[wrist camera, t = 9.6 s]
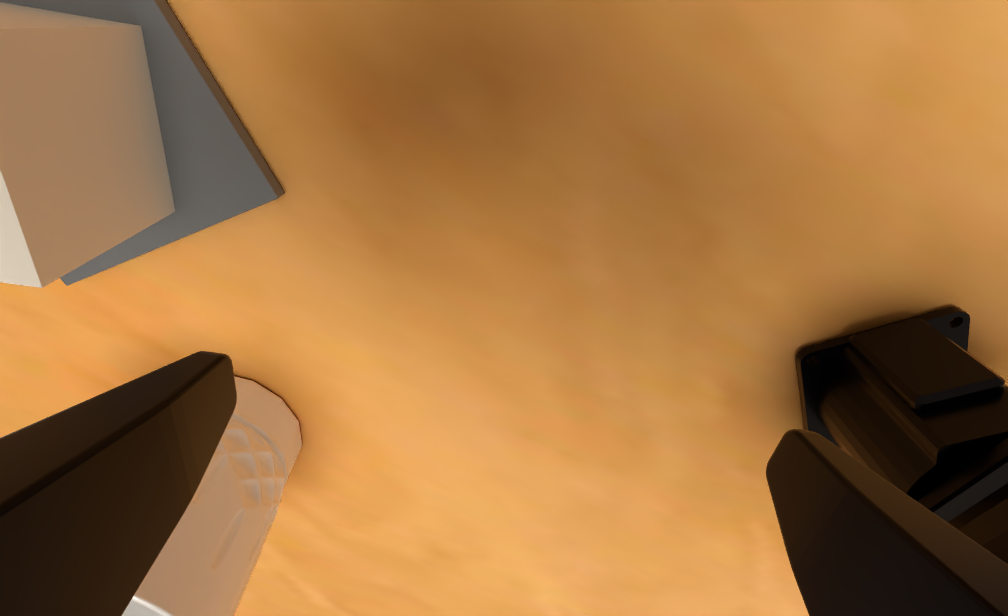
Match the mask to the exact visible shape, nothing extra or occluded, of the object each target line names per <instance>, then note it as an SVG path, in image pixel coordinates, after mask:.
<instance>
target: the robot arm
mask: <svg viewBox="0 0 1008 616" xmlns="http://www.w3.org/2000/svg"><path fill="white" fill-rule="evenodd" d="M952 319H953V320H952ZM951 320H952V321H951ZM969 324H970V316H969V314H968V313H966V312H965V311H963V310H962V309H960V308H959V307H949V308H945V309H941V310H938V311H934V312H931V313H927V314H923V315H920V316H916V317H913V318H909V319H905V320H902V321H898V322H895V323H891V324H887V325H884V326H880V327H877V328H873V329H870V330H866V331H862V332H859V333H855V334H852V335H848V336H844V337H841V338H837V339H834V340H830V341H826V342H823V343H819V344H816V345H812V346H808V347H806V348H803V349H802V350H800V351H799V352H798V354H797V355H796V365H797V373H798V381H799V389H800V397H801V405H802V413H803V421H804V429H805V430H798V429H791V430H789V431H787V432H786V433H785V434H784V436H783V437H782V439H781V441H780V442H779V444H778V446H777V448H776V449H775V451H774V453H773V454H772V456H771V458H770V459H769V461H768V463H767V467H766V477H767V481H768V485H769V489H770V492H771V496H772V500H773V503H774V507H775V511H776V514H777V518H778V522H779V525H780V529H781V533H782V536H783V540H784V544H785V547H786V551H787V554H788V558H789V561H790V564H791V568H792V570H793V573H794V576H795V579H796V582H797V585H798V587H799V590H800V592H801V595H802V598H803V600H804V603H805V606H806V608H807V611H808V613H809V616H1008V386H1006V385H1005V380H1004V379H1003V378H1002V377H1001V376H999V375H998V374H997V373H995V372H994V371H993V370H991V369H990V368H988V367H987V366H986V365H984V364H983V363H982V362H980V361H979V360H978V359H976V358H975V357H973V356H972V355H971V354H969V353H968V352H967V348H968V336H969ZM811 357H813V358H812V359H810V360H808V359H809V358H811ZM807 360H808V361H807ZM236 402H237V392H236V385H235V378H234V372H233V365H232V361H231V359H230V357H229V356H228V355H226V354H222V353H214V352H207V351H200V352H197V353H194V354H192V355H190V356H187V357H185V358H183V359H180V360H178V361H176V362H174V363H171V364H169V365H167V366H164V367H162V368H160V369H158V370H155V371H153V372H151V373H148V374H146V375H144V376H141V377H139V378H137V379H135V380H132V381H130V382H128V383H125V384H123V385H121V386H119V387H116V388H114V389H112V390H109V391H107V392H105V393H103V394H100V395H98V396H96V397H93V398H91V399H89V400H86V401H84V402H82V403H80V404H77V405H75V406H73V407H70V408H68V409H66V410H63V411H61V412H59V413H57V414H54V415H52V416H50V417H47V418H45V419H43V420H41V421H38V422H36V423H34V424H31V425H29V426H27V427H24V428H22V429H20V430H18V431H15V432H13V433H11V434H8V435H6V436H4V437H2V438H0V616H122V614H123V613H124V611H125V609H126V608H127V606H128V605H129V603H130V601H131V600H132V598H133V596H134V595H135V593H136V591H137V590H138V588H139V586H140V585H141V583H142V582H143V580H144V578H145V577H146V575H147V573H148V572H149V570H150V568H151V567H152V565H153V563H154V562H155V560H156V559H157V557H158V555H159V554H160V552H161V550H162V549H163V547H164V545H165V544H166V542H167V540H168V539H169V537H170V536H171V534H172V532H173V531H174V529H175V527H176V526H177V524H178V522H179V521H180V519H181V517H182V516H183V514H184V512H185V511H186V509H187V507H188V505H189V504H190V502H191V500H192V499H193V497H194V495H195V493H196V491H197V489H198V487H199V485H200V483H201V480H202V478H203V476H204V474H205V472H206V470H207V468H208V466H209V463H210V461H211V459H212V457H213V455H214V453H215V451H216V448H217V446H218V444H219V442H220V440H221V438H222V436H223V434H224V431H225V429H226V427H227V425H228V423H229V421H230V419H231V416H232V414H233V412H234V410H235V407H236Z"/></svg>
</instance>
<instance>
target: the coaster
mask: <svg viewBox="0 0 1008 616" xmlns="http://www.w3.org/2000/svg"><path fill="white" fill-rule="evenodd" d="M0 2H2V3H8V4H14V5H20V6H26V7H32V8H38V9H44V10H50V11H55V12H61V13H67V14H73V15H79V16H85V17H91V18H97V19H103V20H109V21H115V22H121V23H127V24H133V25H139V26H141V28H142V34H143V39H144V45H145V50H146V55H147V61H148V66H149V72H150V77H151V83H152V88H153V93H154V99H155V104H156V110H157V115H158V120H159V126H160V131H161V137H162V142H163V147H164V153H165V158H166V164H167V169H168V174H169V180H170V185H171V191H172V196H173V201H174V207H175V212H174V213H172V214H170V215H168V216H167V217H165V218H163V219H161V220H160V221H158V222H156V223H154V224H153V225H151V226H149V227H147V228H146V229H144V230H142V231H141V232H139V233H137V234H135V235H134V236H132V237H130V238H128V239H127V240H125V241H123V242H121V243H120V244H118V245H116V246H114V247H113V248H111V249H109V250H107V251H106V252H104V253H102V254H100V255H99V256H97V257H95V258H93V259H92V260H90V261H88V262H86V263H85V264H83V265H81V266H79V267H78V268H76V269H74V270H72V271H71V272H69V273H67V274H65V275H64V276H62V277H60V279H61V280H62V281H63V282H64V283H65V284H66V285H67V286H68V285H70V284H72V283H75V282H77V281H80V280H82V279H84V278H87V277H89V276H92V275H94V274H96V273H99V272H101V271H104V270H106V269H109V268H111V267H113V266H116V265H118V264H121V263H123V262H125V261H128V260H130V259H133V258H135V257H137V256H140V255H142V254H145V253H147V252H150V251H152V250H154V249H157V248H159V247H162V246H164V245H166V244H169V243H171V242H174V241H176V240H178V239H181V238H183V237H186V236H188V235H190V234H193V233H195V232H198V231H200V230H203V229H205V228H207V227H210V226H212V225H215V224H217V223H219V222H222V221H224V220H227V219H229V218H231V217H234V216H236V215H239V214H241V213H243V212H246V211H248V210H251V209H253V208H256V207H258V206H260V205H263V204H265V203H268V202H270V201H272V200H275V199H277V198H279V197H280V196H282V195H283V194H284V191H283V189H282V188H281V186H280V184H279V183H278V181H277V180H276V178H275V176H274V175H273V173H272V172H271V170H270V168H269V167H268V165H267V163H266V162H265V160H264V159H263V157H262V155H261V154H260V152H259V150H258V149H257V147H256V146H255V144H254V142H253V141H252V139H251V138H250V136H249V134H248V133H247V131H246V129H245V128H244V126H243V125H242V123H241V121H240V120H239V118H238V117H237V115H236V113H235V112H234V110H233V108H232V107H231V105H230V104H229V102H228V100H227V99H226V97H225V96H224V94H223V92H222V91H221V89H220V87H219V86H218V84H217V83H216V81H215V79H214V78H213V76H212V75H211V73H210V71H209V70H208V68H207V66H206V65H205V63H204V62H203V60H202V58H201V57H200V55H199V53H198V52H197V50H196V49H195V47H194V45H193V44H192V42H191V41H190V39H189V37H188V36H187V34H186V32H185V31H184V29H183V28H182V26H181V24H180V23H179V21H178V20H177V18H176V16H175V15H174V13H173V11H172V10H171V8H170V7H169V5H168V3H167V2H166V0H0Z"/></svg>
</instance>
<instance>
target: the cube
mask: <svg viewBox="0 0 1008 616" xmlns="http://www.w3.org/2000/svg"><path fill="white" fill-rule="evenodd" d="M174 212H175V207H174V201H173V196H172V191H171V185H170V180H169V174H168V169H167V164H166V158H165V153H164V147H163V142H162V137H161V131H160V126H159V120H158V115H157V110H156V104H155V99H154V93H153V88H152V83H151V77H150V72H149V66H148V61H147V55H146V50H145V45H144V39H143V34H142V28H141V26H139V25H133V24H127V23H121V22H115V21H109V20H103V19H97V18H91V17H85V16H79V15H73V14H67V13H61V12H55V11H50V10H44V9H38V8H32V7H26V6H20V5H14V4H8V3H2V2H0V282H3V283H10V284H17V285H25V286H32V287H40V288H43V287H44V286H46V285H48V284H50V283H51V282H53V281H55V280H57V279H58V278H60V277H62V276H64V275H65V274H67V273H69V272H71V271H72V270H74V269H76V268H78V267H79V266H81V265H83V264H85V263H86V262H88V261H90V260H92V259H93V258H95V257H97V256H99V255H100V254H102V253H104V252H106V251H107V250H109V249H111V248H113V247H114V246H116V245H118V244H120V243H121V242H123V241H125V240H127V239H128V238H130V237H132V236H134V235H135V234H137V233H139V232H141V231H142V230H144V229H146V228H147V227H149V226H151V225H153V224H154V223H156V222H158V221H160V220H161V219H163V218H165V217H167V216H168V215H170V214H172V213H174Z"/></svg>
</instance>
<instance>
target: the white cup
mask: <svg viewBox="0 0 1008 616" xmlns="http://www.w3.org/2000/svg"><path fill="white" fill-rule="evenodd" d="M234 378H235V385H236V392H237V402H236V407H235V410H234V412H233V414H232V416H231V419H230V421H229V423H228V425H227V427H226V429H225V431H224V434H223V436H222V438H221V440H220V442H219V444H218V446H217V448H216V451H215V453H214V455H213V457H212V459H211V461H210V463H209V466H208V468H207V470H206V472H205V474H204V476H203V478H202V480H201V483H200V485H199V487H198V489H197V491H196V493H195V495H194V497H193V499H192V500H191V502H190V504H189V505H188V507H187V509H186V511H185V512H184V514H183V516H182V517H181V519H180V521H179V522H178V524H177V526H176V527H175V529H174V531H173V532H172V534H171V536H170V537H169V539H168V540H167V542H166V544H165V545H164V547H163V549H162V550H161V552H160V554H159V555H158V557H157V559H156V560H155V562H154V563H153V565H152V567H151V568H150V570H149V572H148V573H147V575H146V577H145V578H144V580H143V582H142V583H141V585H140V586H139V588H138V590H137V591H136V593H135V595H134V596H133V598H132V600H131V601H130V603H129V605H128V606H127V608H126V609H125V611H124V613H123V614H122V616H234V615H235V613H236V610H237V608H238V606H239V603H240V601H241V598H242V596H243V594H244V591H245V589H246V587H247V584H248V582H249V580H250V577H251V575H252V572H253V570H254V568H255V566H256V563H257V561H258V558H259V556H260V554H261V551H262V548H263V545H264V543H265V540H266V537H267V534H268V532H269V530H270V528H271V525H272V523H273V521H274V518H275V515H276V513H277V510H278V507H279V504H280V502H281V499H282V493H283V489H284V487H285V484H286V482H287V479H288V477H289V474H290V472H291V470H292V467H293V465H294V463H295V461H296V458H297V456H298V454H299V452H300V449H301V447H302V440H301V433H300V427H299V421H298V420H297V418H296V417H295V416H294V414H293V413H292V412H291V410H290V409H289V408H288V407H287V405H286V404H285V403H284V401H283V400H282V399H281V398H280V397H278V396H277V395H275V394H273V393H272V392H270V391H269V390H267V389H265V388H264V387H262V386H261V385H259V384H257V383H256V382H254V381H251V380H248V379H244V378H240V377H236V376H234Z"/></svg>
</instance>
